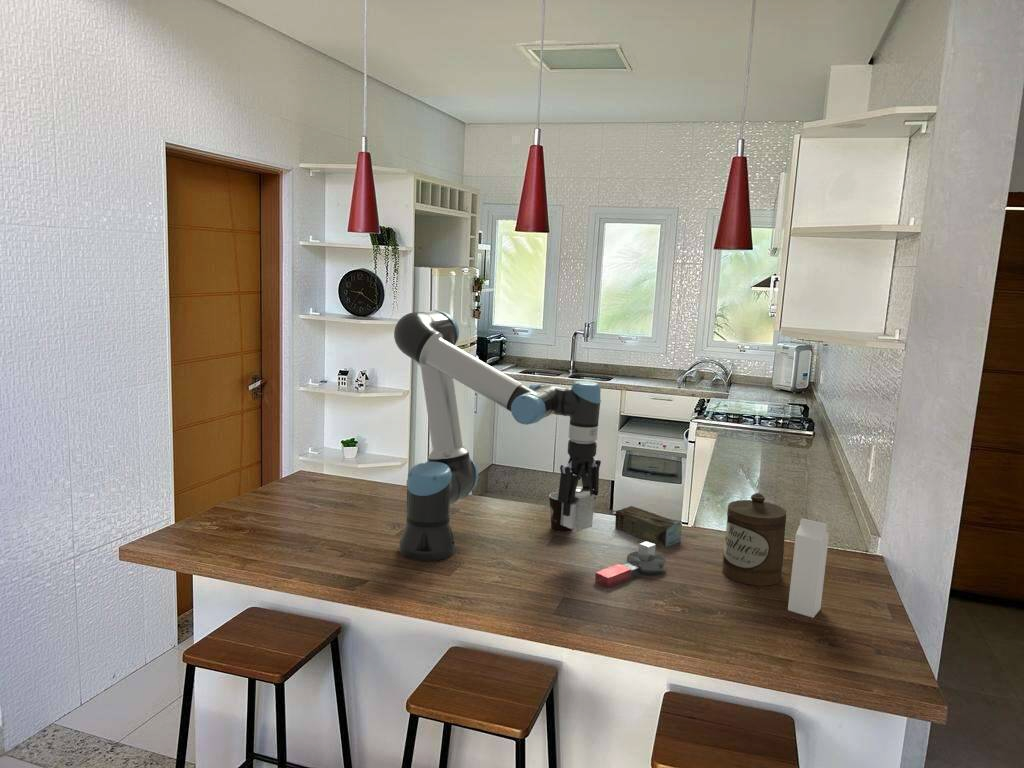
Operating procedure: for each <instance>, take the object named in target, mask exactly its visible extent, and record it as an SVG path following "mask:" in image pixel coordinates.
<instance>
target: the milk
mask: <svg viewBox="0 0 1024 768" xmlns="http://www.w3.org/2000/svg"><path fill="white" fill-rule="evenodd" d="M827 529H828V524H827V523H824V522H820V521H815V520H812V519H811V520H810V519H806V518H801V519H800V523H799V526H798V529H797V530H796V533H795V540H794V547H793V557H792V567H791V568H792V569H791V578H790V583H789V584H790V586H789V595H788V605H787V610H788V611H789V612H793V613H795V614H799V615H802V616H805V617H809V618H814V617H815V616H817V614H818V613H819V611H820V610H821V608H822V607H821V606H822V598H823V591H824V590H823V589H824V582H825V572H826V565H827V555H828V545H829V537H830V533H829V532H828V530H827Z"/></svg>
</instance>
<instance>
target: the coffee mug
mask: <svg viewBox="0 0 1024 768" xmlns="http://www.w3.org/2000/svg"><path fill="white" fill-rule="evenodd" d="M558 494H559V491H556V492H551V493H549V496H548V497H549V499H548V500H549V513H550V527H551V529H552V530H553V531H555V532H558V531H560V532H559V533H569V532H571V531H573V530H572V529H570V528H567V527H565V526H563V525H560V523H561V510H562V502H559V501H558ZM568 531H569V532H568Z"/></svg>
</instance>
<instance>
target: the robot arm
mask: <svg viewBox="0 0 1024 768" xmlns="http://www.w3.org/2000/svg"><path fill="white" fill-rule="evenodd" d="M459 337H460V330H459V325H458V324H457V322H456V320H455V319H454V318H453V316H451V315H450V314H449V313H448V312H446V311H441V310H436V309H434V310H427V311H418V312H417V311H416V312H409V313H406V314H404V315H403V316H401V318H399V320H398V321H397V322H396V325H395V327H394V329H393V338H394V342H395V344H396V347H398V349H399V350H400V351H401V352H402V353H403V354H404V355H405V356H407V357H408V358H410V359H412V360H413V361H414V363H416V364H417V365H418V366H419V367H420V369H421V377H422V383H423V384H422V385H423V392H424V397H425V399H424V400H425V405H426V412H427V413H426V414H427V419H428V426H429V432H430V440H431V447H432V450H431V452H430V453H429V454H428V461H426V462H425V463H424V462H420V463H417V464H415V465H414V466H411V468H410V469H409V470H408V473H407V480H406V523H405V526H404V529H403V533H402V536H401V539H400V541H399V548H398V549H399V553H400V555H402V556H403V557H404V558H407V559H409V560H413V561H421V562H432V561H440V560H445V559H448V558H450V557H452V556H453V555H454V554H455V553H456V540H455V537H454V533H453V531H452V528H451V524H450V520H451V519H450V517H451V505H453V504H454V503H456V502H458V501H460V500H461V499H463V498H465V497H467V496H469V494H471V492H472V491H473V490H474V489H475V488H476V486H477V484H478V481H479V469H478V466H477V464H476V462H475V461H473V460H472V458H471V457H470V451H469V449H467V448H466V447H465V446H463V439H462V431H461V425H460V417H459V411H458V403H457V397H456V396H457V395H456V389H455V383H454V382H455V380H456V381H457V382H459V383H460V384H463V385H464V386H465V387H468V388H470V389H471V390H472V391H474V392H475V393H478V394H480V395H481V396H483V397H485V398H486V399H488V400H490V401H491V402H493V403H495V404H497V405H498V406H500V407H503V408H504V409H506V410H507V411H509V412H510V413H511V415H512V417H513V419H514V420H515V421H516V422H517V423H518V424H520V425H526V426H527V425H532V424H537V423H538V422H540V421H541V420H542V419H545V418H547V417H549V416H550V415H551V416H552V415H556V416H563V417H569V426H568V428H569V429H568V438H569V440H568V443H567V454H568V455H569V459H568V461H567V463H566V464H564V465H563V464H561V465H560V467H559V469H560V477H559V478H560V479H559V485H558V486H559V487H558V492H559V494H558V501H559V502H562V503H563V504H564V505H563V515H564V520H563V526H565V527H568V528H570V529H571V528H572V527H573V514H574V504H572V502H573V498H574V494H575V491H576V487H577V486H578V483H579V481H580V480H581V486H582V487H585V488H588V489H589V490H590V493H592V494H595V497H594V501H595V500H596V499H597V496H598V495H599V487H600V485H599V484H600V482H599V481H600V479H599V478H600V467H601V463H602V462H601V460H599V459H597V458H594V457H596V455H597V446H598V443H597V442H596V441H598V429H599V419H600V410H601V403H602V399H601V389H602V388H601V385H600V384H599V383H597V382H595V381H589V380H575V381H574V382H573V383H572V386H571V387H565V386H558V385H551V384H546V383H532V384H530V385H529V386H527V385H524V384H523V383H521V382H519V381H518V380H516V379H514V378H512V377H511V376H510V375H507V374H505V373H504V372H502V371H501V370H498V369H496V368H495V367H493V366H491V365H489V364H488V363H486V362H484V361H483V360H481V359H479V358H477V357H476V356H474V355H472V354H470V353H469V352H466V351H465V350H464V349H461V348H460V347H458V346H456V344H457V343H458V340H459Z"/></svg>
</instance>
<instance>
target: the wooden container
mask: <svg viewBox="0 0 1024 768" xmlns="http://www.w3.org/2000/svg"><path fill="white" fill-rule="evenodd" d="M765 500H766V497H765V496H764V495H763V494H762V493H759V492H756V493H753V494H752V495H751V496H750V499H740V500H733V501H730V502H729V503H728V505H727V514H726V515H727V516H726V526H725V535H724V543H723V544H724V545H723V554H722V555H723V557H722V567H721V568H722V569H721V570H722V573H723V574H724V575H725V576H727V577H728V578H730V579H731V580H734V581H736V582H738V583H742V584H745V585H746V584H747V585H751V586H758V587H759V586H762V587H763V586H772V585H775V584H779V582H780V581H781V580H782V573H783V563H784V555H785V554H784V551H785V537H786V536H785V535H786V534H785V533H786V524H787V523H786V520H787V511H786V509H785V508H783V507H781V506H780V505H777V504H775V503H771V502H767V501H765Z"/></svg>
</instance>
